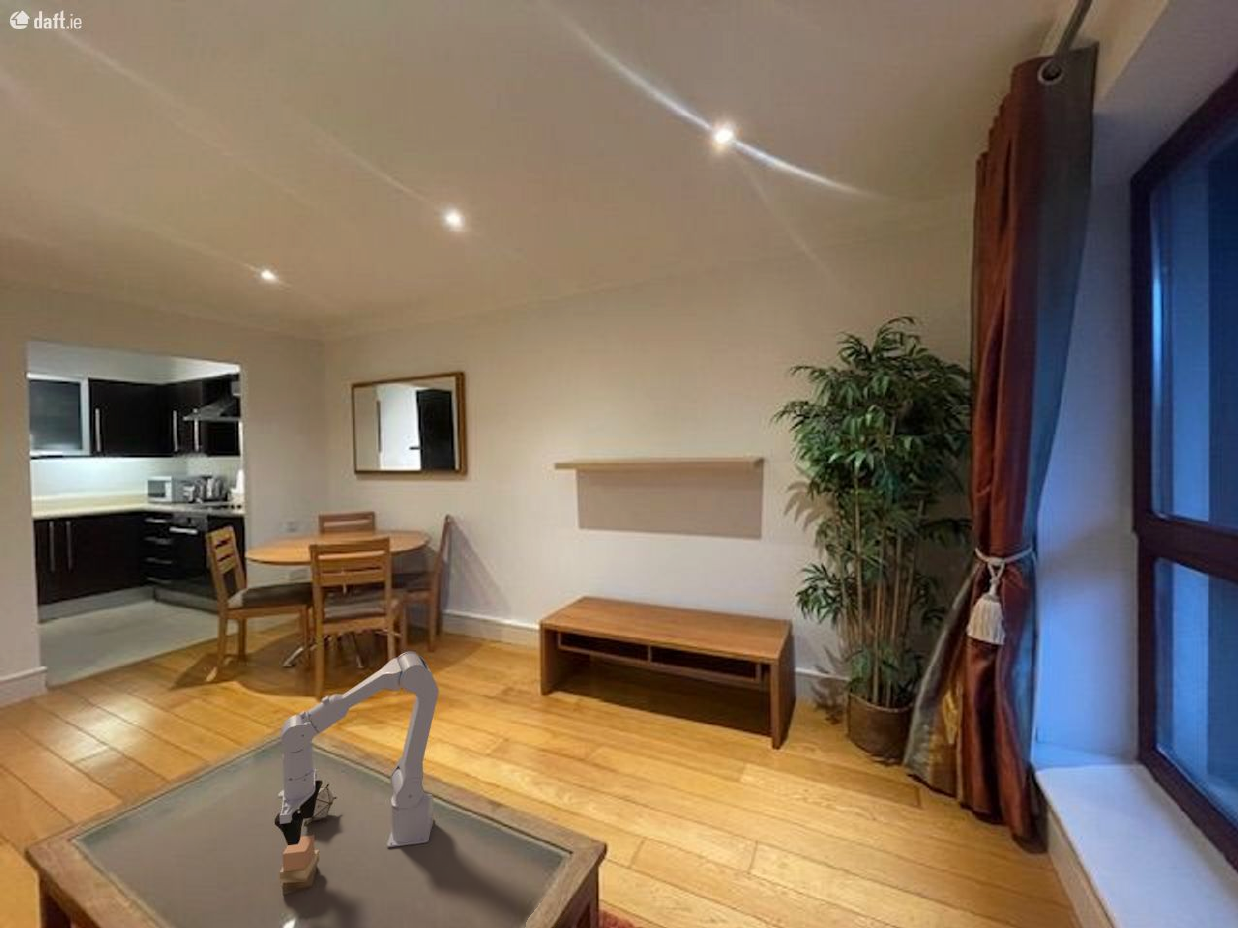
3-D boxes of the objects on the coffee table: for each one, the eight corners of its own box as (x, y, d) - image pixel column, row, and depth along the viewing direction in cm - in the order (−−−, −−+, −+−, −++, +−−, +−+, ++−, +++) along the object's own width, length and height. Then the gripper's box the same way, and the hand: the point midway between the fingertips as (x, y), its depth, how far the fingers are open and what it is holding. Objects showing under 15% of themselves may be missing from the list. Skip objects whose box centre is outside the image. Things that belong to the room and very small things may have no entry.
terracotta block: (314, 851, 117) (314, 834, 116) (306, 868, 112) (305, 850, 112) (292, 854, 116) (292, 837, 116) (283, 871, 111) (282, 853, 111)
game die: (319, 836, 131) (312, 824, 125) (292, 820, 133) (284, 807, 126) (346, 800, 138) (340, 786, 132) (320, 785, 140) (313, 771, 133)
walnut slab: (317, 868, 118) (316, 858, 118) (312, 888, 113) (311, 877, 113) (289, 875, 116) (288, 865, 116) (282, 896, 111) (282, 885, 111)
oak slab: (319, 860, 117) (318, 849, 117) (306, 881, 112) (306, 870, 112) (294, 861, 117) (293, 851, 117) (279, 882, 111) (279, 871, 111)
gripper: (292, 753, 121) (295, 808, 122) (262, 796, 107) (265, 859, 108) (325, 750, 122) (327, 804, 123) (299, 792, 108) (302, 853, 109)
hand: (301, 829), depth 115 cm, fingers open, 7 cm apart
